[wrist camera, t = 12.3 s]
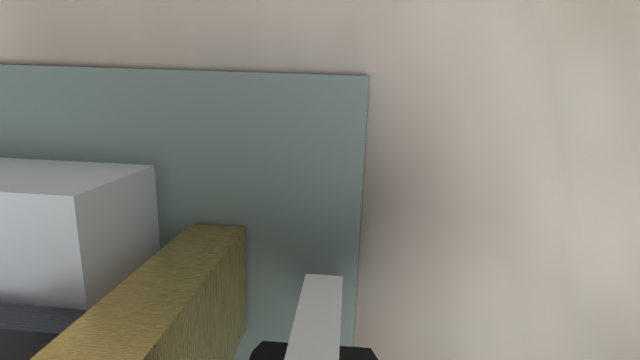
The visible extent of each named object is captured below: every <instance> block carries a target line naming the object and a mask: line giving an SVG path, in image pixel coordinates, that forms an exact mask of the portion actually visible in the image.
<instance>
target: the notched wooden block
mask: <svg viewBox="0 0 640 360" xmlns="http://www.w3.org/2000/svg"><path fill="white" fill-rule="evenodd" d="M246 329H247V311H246V233H245V227H241V226H224V225H207V224H191V225H189V226H188V227H187V228H186V229H185V230H183V231H182V232H181V233H180V234H179V235H178V236H176V237H175V238H174V239H173V240H172V241H170V242H169V243H168V244H167V245H166V246H164V247H163V248H162V249H161V250H160V251H158V252H157V253H156V254H155V255H154V256H152V257H151V258H150V259H149V260H148V261H147V262H145V263H144V264H143V265H142V266H141V267H139V268H138V269H137V270H136V271H135V272H133V273H132V274H131V275H130V276H129V277H127V278H126V279H125V280H124V281H123V282H121V283H120V284H119V285H118V286H117V287H116V288H114V289H113V290H112V291H111V292H110V293H108V294H107V295H106V296H105V297H104V298H102V299H101V300H100V301H99V302H98V303H96V304H95V305H94V306H93V307H92V308H90V309H89V310H88V311H87V312H86V313H85V314H83V315H82V316H81V317H80V318H79V319H77V320H76V321H75V322H74V323H73V324H71V325H70V326H69V327H68V328H67V329H65V330H64V331H63V332H62V333H61V334H60V335H58V336H57V337H56V338H55V339H54V340H52V341H51V342H50V343H49V344H48V345H46V346H45V347H44V348H43V349H42V350H40V351H39V352H38V353H37V354H36V355H34V356H33V357H32V358H31V359H30V360H233V358H234V356H235V354H236V352H237V349H238V347H239V345H240V342H241V340H242V338H243V336H244V333H245V331H246Z"/></svg>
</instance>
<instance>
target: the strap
mask: <svg viewBox="0 0 640 360" xmlns="http://www.w3.org/2000/svg"><path fill="white" fill-rule="evenodd" d="M87 311H88V310H81V309H69V308H57V307H46V306H34V305H23V304H11V303H0V360H30V359H31V358H32V357H33V356H34V355H36V354H37V353H38V352H39V351H40V350H42V349H43V348H44V347H45V346H46V345H48V344H49V343H50V342H51V341H52V340H54V339H55V338H56V337H57V336H58V335H60V334H61V333H62V332H63V331H64V330H65V329H67V328H68V327H69V326H70V325H71V324H73V323H74V322H75V321H76V320H77V319H79V318H80V317H81V316H82V315H83V314H85V313H86V312H87Z"/></svg>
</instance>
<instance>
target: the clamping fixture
mask: <svg viewBox="0 0 640 360" xmlns="http://www.w3.org/2000/svg"><path fill="white" fill-rule="evenodd" d="M368 91H369V76H357V75H325V74H292V73H260V72H228V71H195V70H163V69H131V68H99V67H66V66H34V65H2V64H0V303H11V304H23V305H34V306H46V307H57V308H69V309H81V310H89V309H90V308H92V307H93V306H94V305H95V304H96V303H98V302H99V301H100V300H101V299H102V298H104V297H105V296H106V295H107V294H108V293H110V292H111V291H112V290H113V289H114V288H116V287H117V286H118V285H119V284H120V283H121V282H123V281H124V280H125V279H126V278H127V277H129V276H130V275H131V274H132V273H133V272H135V271H136V270H137V269H138V268H139V267H141V266H142V265H143V264H144V263H145V262H147V261H148V260H149V259H150V258H151V257H152V256H154V255H155V254H156V253H157V252H158V251H160V250H161V249H162V248H163V247H164V246H166V245H167V244H168V243H169V242H170V241H172V240H173V239H174V238H175V237H176V236H178V235H179V234H180V233H181V232H182V231H183V230H185V229H186V228H187V227H188V226H189V225H191V224H207V225H224V226H241V227H245V233H246V311H247V329H246V331H245V333H244V336H243V338H242V340H241V342H240V345H239V347H238V349H237V352H236V354H235V356H234V358H233V360H249V358H250V356H251V353H252V351H253V350H254V349H255V348H256V347H257V346H258V345H259V344H260V343H261V342H262V341H273V342H285V343H288V342H289V338H290V334H291V331H292V327H293V323H294V319H295V315H296V311H297V307H298V303H299V299H300V295H301V291H302V287H303V283H304V279H305V275H306V274H319V275H333V276H343V287H342V308H341V329H340V346H348V347H353V341H354V324H355V308H356V291H357V274H358V258H359V241H360V224H361V208H362V191H363V175H364V158H365V141H366V125H367V108H368Z"/></svg>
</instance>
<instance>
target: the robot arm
mask: <svg viewBox="0 0 640 360" xmlns="http://www.w3.org/2000/svg"><path fill="white" fill-rule="evenodd" d="M342 287H343V276H333V275H319V274H306V275H305V279H304V283H303V287H302V291H301V295H300V299H299V303H298V307H297V311H296V315H295V319H294V323H293V327H292V331H291V334H290V338H289V342H288V343H285V342H273V341H262V342H261V343H260V344H259V345H258V346H257V347H256V348H255V349H254V350H253V351H252V353H251V356H250V358H249V360H378V359H377V357H376V356H375V354H374V353H373V351H372V350H371V348H361V347H348V346H340V329H341V308H342Z"/></svg>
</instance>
